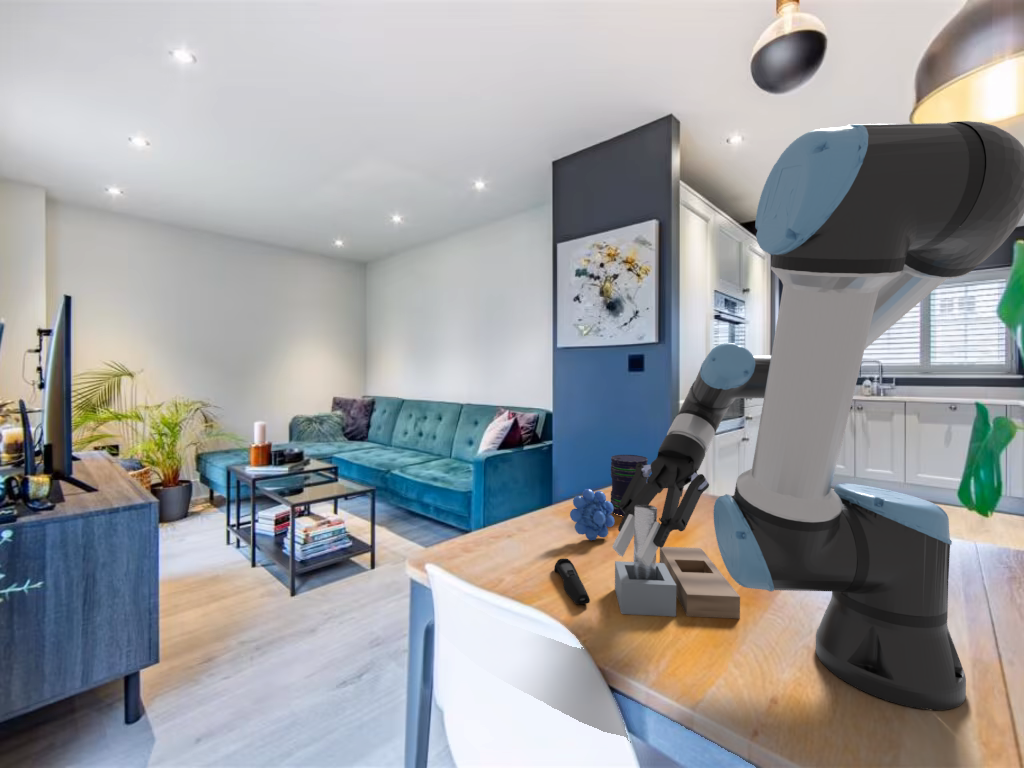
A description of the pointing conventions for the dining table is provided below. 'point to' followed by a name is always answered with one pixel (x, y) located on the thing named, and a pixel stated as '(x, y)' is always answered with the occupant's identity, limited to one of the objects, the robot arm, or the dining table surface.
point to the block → (645, 591)
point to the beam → (700, 584)
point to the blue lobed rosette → (592, 514)
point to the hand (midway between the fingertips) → (630, 556)
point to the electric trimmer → (572, 581)
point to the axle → (643, 541)
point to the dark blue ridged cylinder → (623, 476)
